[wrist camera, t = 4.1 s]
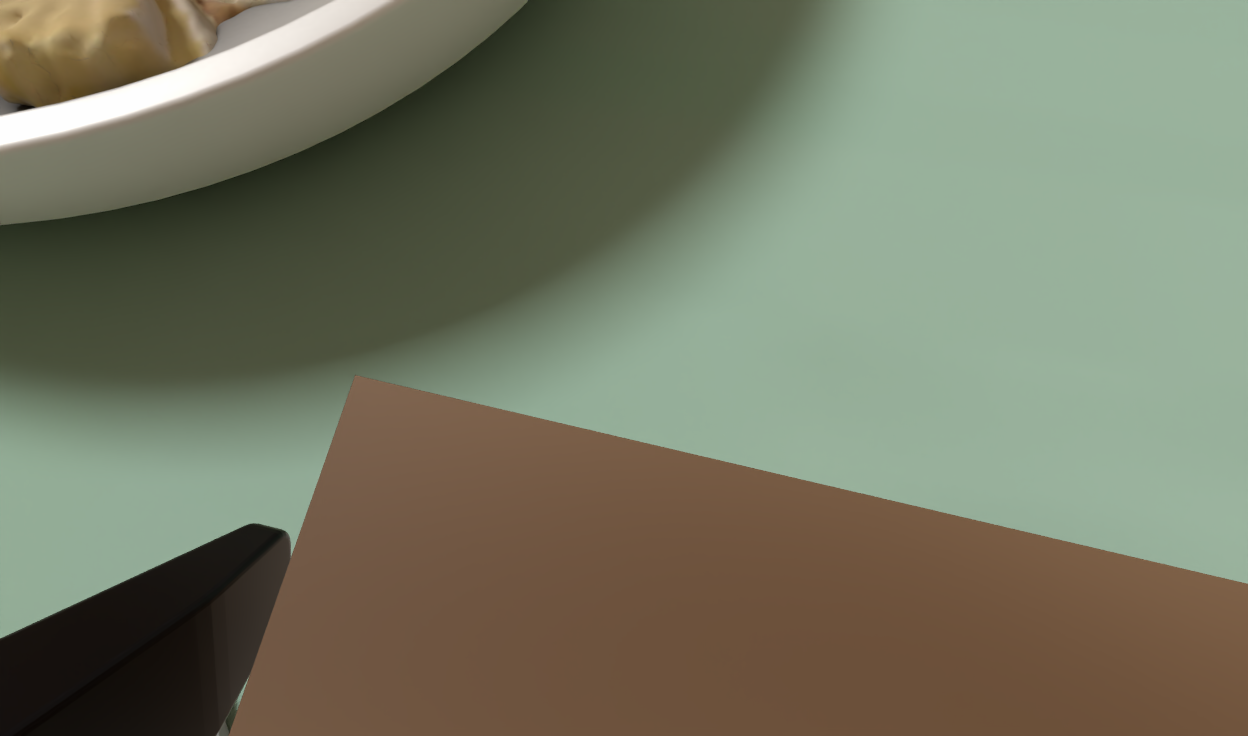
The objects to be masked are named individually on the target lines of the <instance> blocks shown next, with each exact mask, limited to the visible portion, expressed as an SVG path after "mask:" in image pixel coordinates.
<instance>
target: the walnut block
mask: <svg viewBox="0 0 1248 736" xmlns="http://www.w3.org/2000/svg"><path fill="white" fill-rule="evenodd" d="M229 736H1248V584H1246V583H1242V582H1237V581H1233V580H1229V579H1225V578H1220V577H1216V576H1212V575H1207V574H1203V573H1199V572H1195V571H1190V570H1186V569H1182V568H1177V567H1173V566H1169V565H1165V564H1160V563H1156V562H1152V561H1148V560H1143V559H1139V558H1135V557H1130V556H1126V555H1122V554H1118V553H1113V552H1109V551H1105V550H1101V549H1096V548H1092V547H1088V546H1083V545H1079V544H1075V543H1071V542H1066V541H1062V540H1058V539H1053V538H1049V537H1045V536H1041V535H1036V534H1032V533H1028V532H1024V531H1019V530H1015V529H1011V528H1006V527H1002V526H998V525H994V524H989V523H985V522H981V521H976V520H972V519H968V518H964V517H959V516H955V515H951V514H947V513H942V512H938V511H934V510H929V509H925V508H921V507H917V506H912V505H908V504H904V503H899V502H895V501H891V500H887V499H882V498H878V497H874V496H870V495H865V494H861V493H857V492H852V491H848V490H844V489H840V488H835V487H831V486H827V485H822V484H818V483H814V482H810V481H805V480H801V479H797V478H793V477H788V476H784V475H780V474H775V473H771V472H767V471H763V470H758V469H754V468H750V467H746V466H741V465H737V464H733V463H728V462H724V461H720V460H716V459H711V458H707V457H703V456H698V455H694V454H690V453H686V452H681V451H677V450H673V449H669V448H664V447H660V446H656V445H651V444H647V443H643V442H639V441H634V440H630V439H626V438H621V437H617V436H613V435H609V434H604V433H600V432H596V431H592V430H587V429H583V428H579V427H574V426H570V425H566V424H562V423H557V422H553V421H549V420H544V419H540V418H536V417H532V416H527V415H523V414H519V413H515V412H510V411H506V410H502V409H497V408H493V407H489V406H485V405H480V404H476V403H472V402H467V401H463V400H459V399H455V398H450V397H446V396H442V395H438V394H433V393H429V392H425V391H420V390H416V389H412V388H408V387H403V386H399V385H395V384H391V383H386V382H382V381H378V380H373V379H369V378H365V377H361V376H356V375H355V377H354V380H353V383H352V386H351V389H350V391H349V394H348V397H347V400H346V403H345V406H344V408H343V411H342V414H341V417H340V420H339V423H338V426H337V428H336V431H335V434H334V437H333V440H332V443H331V445H330V448H329V451H328V454H327V457H326V460H325V463H324V465H323V468H322V471H321V474H320V477H319V480H318V482H317V485H316V488H315V491H314V494H313V497H312V500H311V502H310V505H309V508H308V511H307V514H306V517H305V519H304V522H303V525H302V528H301V531H300V534H299V537H298V539H297V542H296V545H295V548H294V551H293V554H292V556H291V559H290V562H289V565H288V568H287V571H286V574H285V576H284V579H283V582H282V585H281V588H280V591H279V593H278V596H277V599H276V602H275V605H274V608H273V611H272V613H271V616H270V619H269V622H268V625H267V628H266V630H265V633H264V636H263V639H262V642H261V645H260V648H259V650H258V653H257V656H256V659H255V662H254V665H253V667H252V670H251V673H250V676H249V679H248V682H247V685H246V687H245V690H244V693H243V696H242V699H241V702H240V704H239V707H238V710H237V713H236V716H235V719H234V722H233V724H232V727H231V730H230V733H229Z"/></svg>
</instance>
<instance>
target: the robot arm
mask: <svg viewBox="0 0 1248 736" xmlns="http://www.w3.org/2000/svg"><path fill="white" fill-rule="evenodd" d="M290 559H291V542H290V537H289V535H288V533H287V532H286V531H284V530H282V529H278V528H274V527H270V526H266V525H262V524H256V523H253V524H248V525H246V526H243V527H241V528H239V529H237V530H234V531H232V532H230V533H228V534H226V535H224V536H221V537H219V538H217V539H215V540H213V541H211V542H208V543H206V544H204V545H202V546H200V547H198V548H195V549H193V550H191V551H189V552H187V553H185V554H182V555H180V556H178V557H176V558H174V559H172V560H169V561H167V562H165V563H163V564H161V565H159V566H156V567H154V568H152V569H150V570H148V571H146V572H143V573H141V574H139V575H137V576H135V577H133V578H130V579H128V580H126V581H124V582H122V583H120V584H117V585H115V586H113V587H111V588H109V589H107V590H104V591H102V592H100V593H98V594H96V595H94V596H92V597H89V598H87V599H85V600H83V601H81V602H79V603H76V604H74V605H72V606H70V607H68V608H66V609H63V610H61V611H59V612H57V613H55V614H53V615H50V616H48V617H46V618H44V619H42V620H40V621H37V622H35V623H33V624H31V625H29V626H27V627H24V628H22V629H20V630H18V631H16V632H14V633H11V634H9V635H7V636H5V637H3V638H1V639H0V736H217V734H218V732H219V731H220V729H221V727H222V726H223V724H224V722H225V720H226V718H227V717H228V715H229V713H230V711H231V709H232V708H233V706H234V704H235V702H236V700H237V698H238V696H239V694H240V692H241V690H242V689H243V687H244V685H245V683H246V681H247V679H248V677H249V675H250V673H251V670H252V667H253V665H254V662H255V659H256V656H257V653H258V650H259V648H260V645H261V642H262V639H263V636H264V633H265V630H266V628H267V625H268V622H269V619H270V616H271V613H272V611H273V608H274V605H275V602H276V599H277V596H278V593H279V591H280V588H281V585H282V582H283V579H284V576H285V574H286V571H287V568H288V565H289V562H290Z"/></svg>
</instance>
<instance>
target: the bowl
mask: <svg viewBox="0 0 1248 736" xmlns="http://www.w3.org/2000/svg"><path fill="white" fill-rule="evenodd" d="M528 1H529V0H0V225H7V224H17V223H26V222H35V221H44V220H53V219H62V218H68V217H74V216H80V215H86V214H92V213H98V212H104V211H110V210H115V209H119V208H124V207H128V206H133V205H137V204H142V203H146V202H151V201H155V200H160V199H163V198H167V197H170V196H174V195H177V194H181V193H185V192H188V191H192V190H195V189H199V188H202V187H206V186H209V185H212V184H215V183H218V182H221V181H224V180H227V179H230V178H233V177H236V176H239V175H242V174H245V173H248V172H250V171H253V170H256V169H259V168H261V167H264V166H266V165H269V164H271V163H274V162H276V161H279V160H281V159H284V158H286V157H289V156H291V155H294V154H296V153H299V152H301V151H303V150H305V149H307V148H310V147H312V146H314V145H316V144H318V143H320V142H322V141H325V140H327V139H329V138H331V137H333V136H335V135H337V134H340V133H342V132H343V131H345V130H347V129H349V128H351V127H353V126H355V125H357V124H358V123H360V122H362V121H364V120H366V119H368V118H370V117H372V116H373V115H375V114H377V113H379V112H381V111H382V110H384V109H386V108H387V107H389V106H391V105H392V104H394V103H396V102H397V101H399V100H400V99H402V98H404V97H405V96H407V95H409V94H410V93H412V92H414V91H415V90H417V89H419V88H420V87H422V86H423V85H424V84H426V83H427V82H429V81H430V80H432V79H433V78H435V77H436V76H437V75H439V74H440V73H442V72H443V71H445V70H446V69H448V68H449V67H450V66H452V65H453V64H455V63H456V62H458V61H459V60H460V59H461V58H463V57H464V56H465V55H466V54H468V53H469V52H470V51H472V50H473V49H474V48H475V47H477V46H478V45H479V44H480V43H482V42H483V41H484V40H486V39H487V38H488V37H489V36H491V35H492V34H493V33H494V32H495V31H496V30H497V29H498V28H500V27H501V26H502V25H503V24H504V23H505V22H506V21H507V20H509V19H510V18H511V17H512V16H513V15H514V14H515V13H516V12H517V11H519V10H520V9H521V8H522V7H523V6H524V5H525V4H526V3H527V2H528Z"/></svg>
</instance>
